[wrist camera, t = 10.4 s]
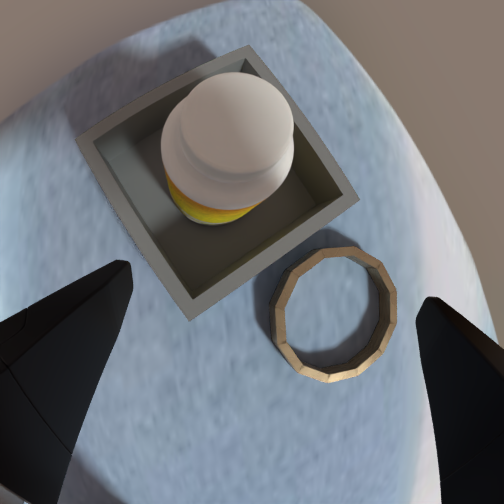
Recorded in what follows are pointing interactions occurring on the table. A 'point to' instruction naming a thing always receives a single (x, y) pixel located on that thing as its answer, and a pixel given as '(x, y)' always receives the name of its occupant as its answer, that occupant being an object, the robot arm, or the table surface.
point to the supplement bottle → (227, 147)
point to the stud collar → (381, 331)
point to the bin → (194, 234)
